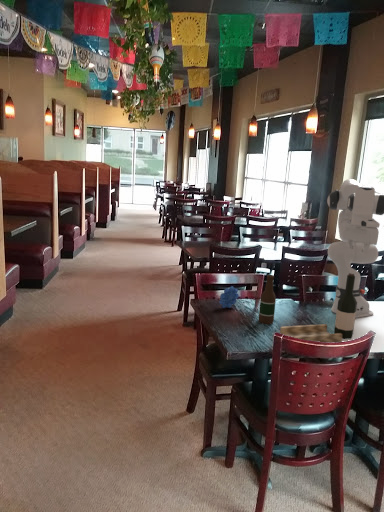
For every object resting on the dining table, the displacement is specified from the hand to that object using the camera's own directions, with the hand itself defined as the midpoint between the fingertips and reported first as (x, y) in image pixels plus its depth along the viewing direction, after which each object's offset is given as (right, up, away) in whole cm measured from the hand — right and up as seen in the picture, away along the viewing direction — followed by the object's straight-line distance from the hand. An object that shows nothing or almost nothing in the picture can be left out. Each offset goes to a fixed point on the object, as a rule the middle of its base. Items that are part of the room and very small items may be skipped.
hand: (357, 251), depth 197 cm
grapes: (-58, -30, +33) cm, 73 cm away
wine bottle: (-6, -40, +1) cm, 40 cm away
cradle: (-23, -40, -4) cm, 46 cm away
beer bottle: (-40, -35, +13) cm, 55 cm away
